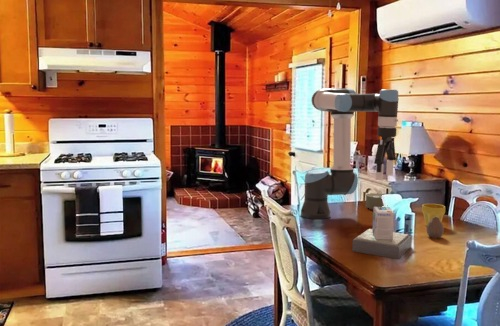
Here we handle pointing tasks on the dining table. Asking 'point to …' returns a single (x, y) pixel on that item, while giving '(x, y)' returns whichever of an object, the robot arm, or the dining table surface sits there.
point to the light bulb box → (383, 223)
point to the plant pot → (432, 212)
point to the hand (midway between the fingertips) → (384, 177)
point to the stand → (382, 244)
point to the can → (373, 200)
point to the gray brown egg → (435, 228)
